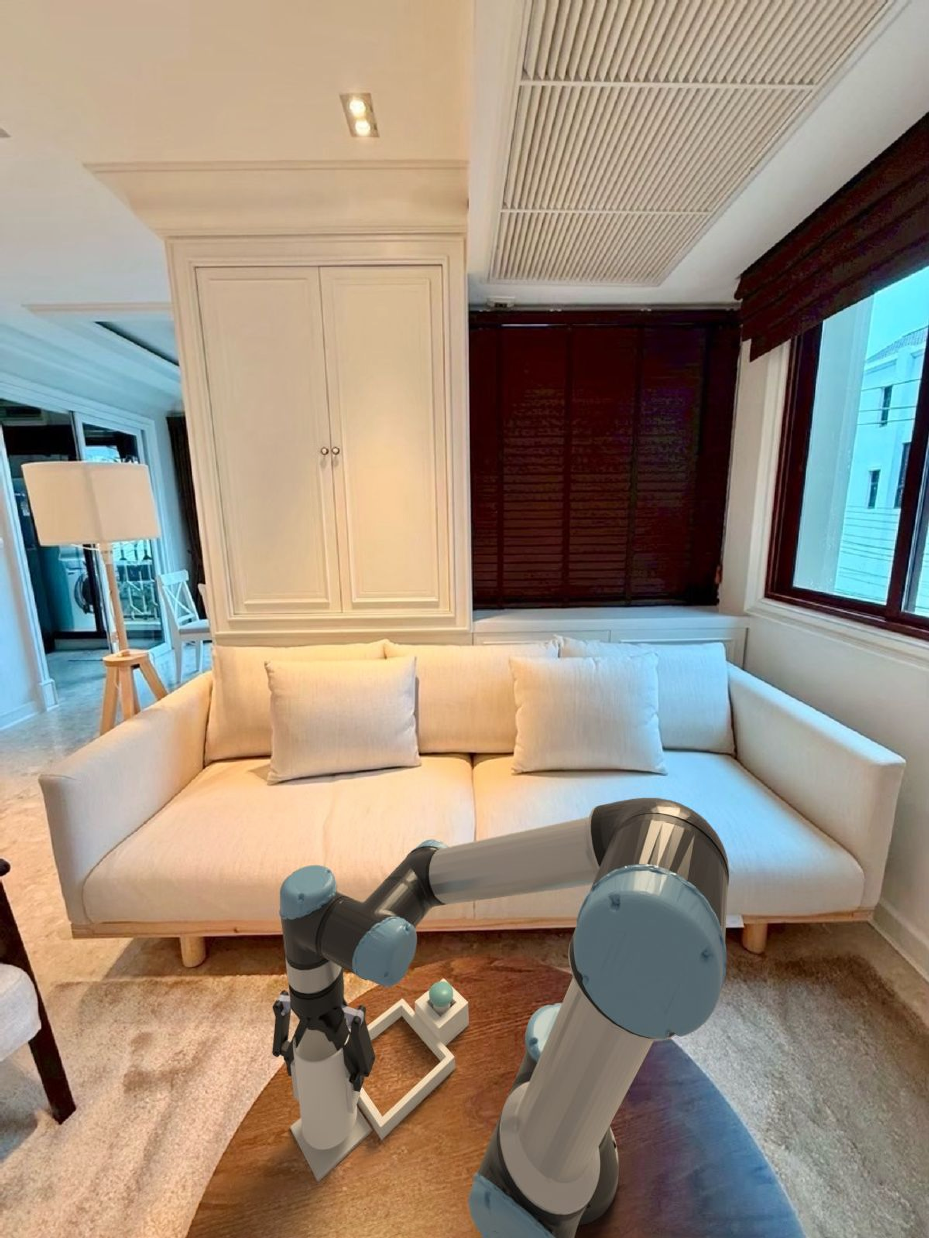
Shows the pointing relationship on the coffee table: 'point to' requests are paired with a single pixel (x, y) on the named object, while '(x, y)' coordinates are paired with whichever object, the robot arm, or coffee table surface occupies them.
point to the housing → (436, 1037)
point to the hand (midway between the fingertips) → (327, 1096)
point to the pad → (331, 1157)
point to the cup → (322, 1091)
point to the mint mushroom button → (441, 997)
